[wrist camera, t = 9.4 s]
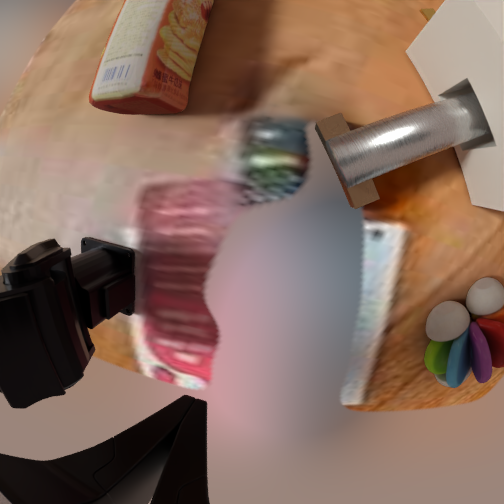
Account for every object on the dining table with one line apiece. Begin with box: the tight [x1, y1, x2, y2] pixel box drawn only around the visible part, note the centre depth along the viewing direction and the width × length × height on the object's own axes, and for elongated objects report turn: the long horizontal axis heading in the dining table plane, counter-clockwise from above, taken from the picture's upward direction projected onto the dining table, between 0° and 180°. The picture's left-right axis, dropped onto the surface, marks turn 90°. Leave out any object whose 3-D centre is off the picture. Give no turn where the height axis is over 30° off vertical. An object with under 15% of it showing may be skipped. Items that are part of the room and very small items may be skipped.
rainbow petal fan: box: [424, 277, 504, 388], centre depth 15 cm, size 8×10×7 cm
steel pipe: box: [315, 9, 491, 209], centre depth 13 cm, size 19×21×6 cm
